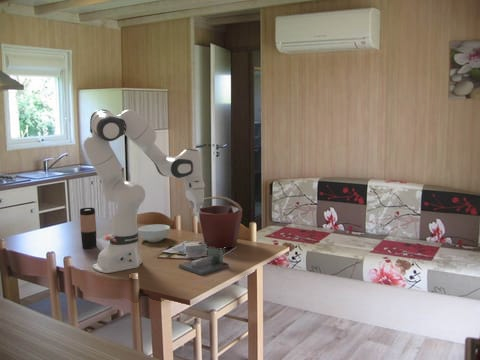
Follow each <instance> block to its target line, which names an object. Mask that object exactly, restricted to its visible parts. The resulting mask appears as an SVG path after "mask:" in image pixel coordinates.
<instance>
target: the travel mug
mask: <svg viewBox="0 0 480 360" xmlns="http://www.w3.org/2000/svg"><path fill="white" fill-rule="evenodd" d="M95 209H96V208H95V207H83V208H80V209H79V218H80V219H79V220H80V221H79V222H80V223H79V224H80V236H81V247H82V248H83V249H87V250H88V249H94V248H96V247H97V222H96V220H97V219H96V210H95Z"/></svg>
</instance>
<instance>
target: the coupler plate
mask: <svg viewBox="0 0 480 360" xmlns="http://www.w3.org/2000/svg"><path fill="white" fill-rule="evenodd" d="M223 251H224V249H220V248H216V247H213V246H210V247H207V257H199V258H197V259H193V260H190V261H187V262H181V263H179V264H178V268H180V269H181V270H185V271H188V272H191V273H194V274H196V275H199V276H205V275H208V274H212V273H215V272H219V271H221V270H224V269H227V268H230V264H229V263H227V262H224V254H223V253H224V252H223Z"/></svg>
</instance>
